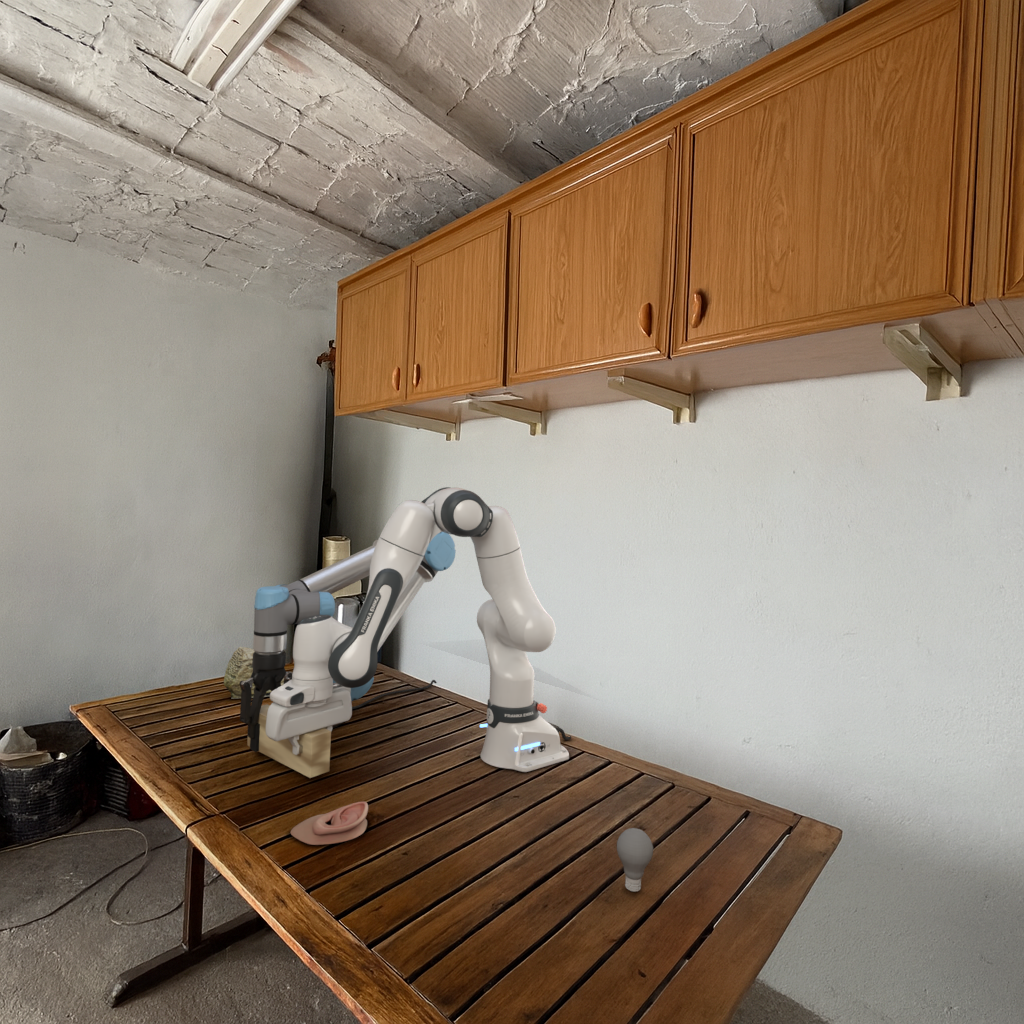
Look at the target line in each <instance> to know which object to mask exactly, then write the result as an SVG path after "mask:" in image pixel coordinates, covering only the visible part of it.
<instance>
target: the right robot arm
mask: <svg viewBox="0 0 1024 1024" xmlns="http://www.w3.org/2000/svg"><path fill="white" fill-rule="evenodd" d="M441 532H445V533H447V534H449V535H453V536H455V537H460V538H470V539H471V542H472V544H473V548H474V552H475V557H476V561H477V566H478V570H479V575H480V579H481V583H482V586H483V588H484V590H485V591H486V592H487V594H488V595H489V596H490V599H488V600H485V602H482V604H481V605H480V607H479V608H478V611H477V614H476V623H477V627H478V628H479V630H480V633H481V634H482V637H483V640H484V643H485V648H486V653H487V659H488V664H489V696H488V697H489V698H488V699H487V705H486V723H482V724H479V728H486V732H485V737H484V741H483V746H482V749H481V752H480V755H479V757H480V759H481V761H483V762H484V763H486V764H487V765H490V766H492V767H496V768H500V769H507V770H514V771H518V772H522V773H527V772H531V771H535V770H538V769H541V768H544V767H548V766H551V765H555V764H558V763H561V762H564V761H568V760H569V759H570V753H569V751H568V750H567V748H566V747H565V746H563V744H561V738H560V735H561V736H562V739H563V740H564V741H569V740H571V739H572V736H571V735H568V736H570V737H568V736H566V734H565V731H564V729H563V728H562V727H560V726H559V725H556V724H554V723H552V722H549V721H548V720H546V719H544V718H543V716H541V715H540V713H541V714H545V713H546V712H548V706H547V705H545V704H544V703H540V702H538V701H536V700H534V696H535V695H534V693H535V675H536V674H535V670H534V667H533V665H532V663H531V661H530V660H529V656H528V653H542V652H544V651H546V650H547V649H548V648H550V646H551V645H553V642H554V640H555V638H556V633H557V628H556V623H555V620H554V619H553V617H552V616H551V615H550V614H549V613H548V612H547V611H546V609H545V608H544V606H543V605H542V603H541V601H540V600H539V598H538V596H537V594H536V592H535V589H534V587H533V585H532V583H531V581H530V579H529V576H528V573H527V570H526V565H525V562H524V557H523V552H522V547H521V544H520V539H519V536H518V533H517V530H516V527H515V524H514V521H513V519H512V517H511V515H510V513H509V511H508V510H507V509H506V508H505V507H502V506H499V505H488V504H487V503H486V502H485V501H484V499H482V497H481V496H479V494H476V493H475V492H474V491H471V490H468V489H465V488H462V487H457V486H456V487H449V486H448V487H447V486H446V487H441V488H438V489H436V490H435V491H433V492H432V493H431V494H430V495H428V496H427V497H426V498H424V499H422V500H421V501H419V500H414V499H406V500H403V501H401V502H400V503H399V504H398V505H397V507H396V508H395V509H394V510H393V512H392V513H391V515H390V517H389V518H388V520H387V521H386V523H385V526H384V527H383V528H382V531H381V533H380V535H379V537H378V541H377V544H376V546H375V549H374V553H373V556H372V560H371V565H370V575H369V577H368V579H369V580H368V588H367V592H366V596H365V599H364V601H363V604H362V605H361V608H360V611H359V613H358V614H357V618H356V619H355V621H354V624H353V626H349V625H346V624H344V623H342V622H340V621H338V620H337V619H335V618H334V616H333V617H332V616H330V615H315V616H311V617H308V618H305V619H303V620H302V621H301V622H300V623H299V624H296V627H295V631H294V636H293V645H292V659H293V665H294V666H293V669H292V679H291V680H290V681H288V682H287V683H285V684H284V685H282V686H280V687H278V688H277V689H275V690H273V691H272V692H271V693H270V696H269V700H270V701H271V704H269V705H270V706H269V708H268V712H267V718H266V735H267V736H268V738H270V739H272V740H274V741H281V740H284V739H287V738H288V739H289V741H290V743H291V744H292V745H293V751H292V752H293V754H295V755H298V754H301V753H302V752H303V750H302V749H303V745H300V744H298V742H297V740H299V735H301V734H304V733H308V732H311V731H315V730H318V729H321V728H324V729H327V730H329V731H331V732H332V731H333V729H332V727H333V725H335V724H338V723H341V724H342V723H344V722H348V721H350V719H351V718H352V715H353V709H352V707H353V704H352V702H353V701H351V695H350V694H351V688H356V687H360V686H362V685H364V684H366V683H368V682H369V681H370V680H371V679H372V678H373V677H374V676H375V674H376V672H377V668H378V652H377V649H378V644H379V641H380V638H381V636H382V634H383V631H384V629H385V627H386V624H387V622H388V619H389V617H390V615H391V612H392V610H393V608H394V606H395V604H396V602H397V600H398V599H399V597H400V595H401V594H402V592H403V591H404V589H405V588H406V586H407V585H408V583H409V582H410V580H411V579H412V577H413V576H414V574H415V572H416V571H417V569H418V567H419V565H420V563H421V561H422V559H423V557H424V555H425V552H426V550H427V547H428V545H429V543H430V542H431V540H432V539H433V538H434V537H435V536H436V535H437V534H438V533H441ZM333 680H334V681H335V682H336V683H333ZM539 712H540V713H539Z"/></svg>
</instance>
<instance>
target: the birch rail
mask: <svg viewBox="0 0 1024 1024" xmlns="http://www.w3.org/2000/svg"><path fill="white" fill-rule="evenodd" d="M270 705H271V704H262V706H261V709H260V713H259V717H258V720H257V723H259V724H260V736H259V751H258V752H259V753H261V754H263V755H264V756H266V757H268V758H270V759H272V760H274V761H275V762H278V763H280V764H281V765H284V766H286V767H288V768H290V769H291V770H294V771H295V772H296V773H300V774H301V775H303V776H305V777H307V778H309V779H311V778H315V777H317V776H320V775H322V774H325V773H328V772H330V764H331V763H330V762H331V746H332V745H331V743H332V741H331V740H332V731H329V730H327V729H324V728H321V729H318V730H315V731H311V732H308V733H304V734H301V735H299V740H297V742H298V744H300V745H303V749H302V750H303V752H302V753H301V754H298V755H295V754H293V752H292V751H293V745H292V744H291V743H290V741H289V739H288V738H287V739H284V740H281V741H274V740H272V739H270V738H268V736H267V735H266V718H267V712H268V708H269V706H270ZM246 741H247V743H246V746H247V747H249V748H250V738H249V737H248V736H247V740H246Z"/></svg>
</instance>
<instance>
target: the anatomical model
mask: <svg viewBox="0 0 1024 1024" xmlns="http://www.w3.org/2000/svg"><path fill="white" fill-rule="evenodd" d="M368 812H369V804H368V803H367V802H366V801H358V802H357V801H356V802H354V803H349V804H347V805H344V806H341V807H337V808H336V809H334V810H331V811H329V812H326V813H322V814H316V815H314V816H311V817H308V818H306V819H304V820H303V821H301V822H299V823H298V824H297V825H295V826H293V828H291V830H290V835H291V836H292V837H294V838H295V839H297V840H298V841H300V842H302V843H304V844H307V845H312V846H320V845H321V846H323V845H332V844H339V843H343V842H347V841H351V840H354V839H356V838H358V837H359V836H361V835H363V834H364V833H365V831H366V830H367V827H368V820H367V819H366V818H367V817H368V816H367V815H368V814H369V813H368Z"/></svg>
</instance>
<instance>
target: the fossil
mask: <svg viewBox="0 0 1024 1024" xmlns="http://www.w3.org/2000/svg"><path fill="white" fill-rule="evenodd" d="M254 652H255V651H254V650H253V648H251V647H247V646H239V647H238V648H237V649H236V650H235V651H233V654H231V655H232V656H231V658H230V659H229V661H228V663H227V666H226V669H225V673H224V677H223V678H224V679H223V686H224V687H225V688H226V689H227V691H228V692H229V693H230V696H231V697H230V698H231V699H233V700H234V699H235V700H236V699H237V700H238V699H241V687H240V684H239V683H240V681H242V680H243V681H246V680H248V679H249V678H251V675H252V673H253V668H252V660H253V653H254ZM282 685H284V678H283V680H282V681H281V686H282ZM254 688H255V685H254V683H253V684H252V688H251V692H252V694H251V699H253V696H254ZM260 691H261V690H260ZM271 692H272V691H271V690H268V691H267V692H266V695H265V696H264V698H266V697H270V693H271Z"/></svg>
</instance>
